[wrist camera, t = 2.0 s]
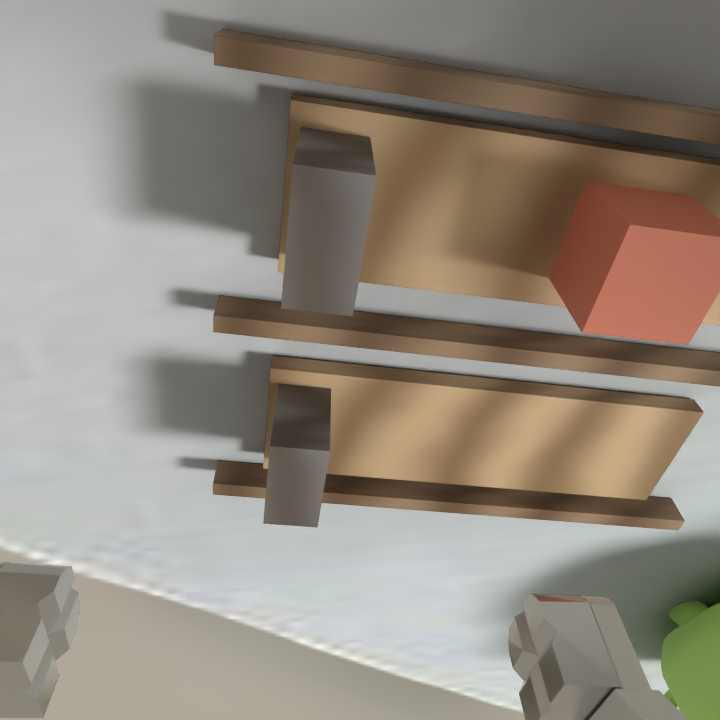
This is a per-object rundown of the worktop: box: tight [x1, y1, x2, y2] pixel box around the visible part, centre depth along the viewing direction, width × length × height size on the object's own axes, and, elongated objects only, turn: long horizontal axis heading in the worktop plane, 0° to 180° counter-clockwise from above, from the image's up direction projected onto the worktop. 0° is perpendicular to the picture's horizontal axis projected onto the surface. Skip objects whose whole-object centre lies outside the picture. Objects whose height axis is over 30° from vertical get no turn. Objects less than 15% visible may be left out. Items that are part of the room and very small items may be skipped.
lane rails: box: [213, 29, 720, 530], centre depth 32 cm, size 32×26×2 cm
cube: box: [549, 181, 720, 345], centre depth 26 cm, size 5×5×5 cm
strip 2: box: [263, 356, 704, 527], centre depth 34 cm, size 26×8×6 cm, turn 81°
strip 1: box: [278, 94, 720, 325], centre depth 26 cm, size 26×8×6 cm, turn 81°
